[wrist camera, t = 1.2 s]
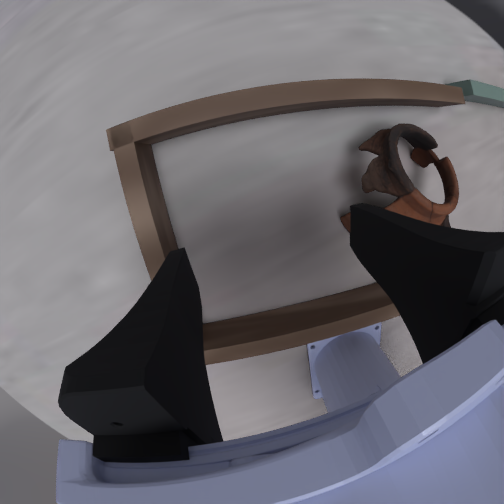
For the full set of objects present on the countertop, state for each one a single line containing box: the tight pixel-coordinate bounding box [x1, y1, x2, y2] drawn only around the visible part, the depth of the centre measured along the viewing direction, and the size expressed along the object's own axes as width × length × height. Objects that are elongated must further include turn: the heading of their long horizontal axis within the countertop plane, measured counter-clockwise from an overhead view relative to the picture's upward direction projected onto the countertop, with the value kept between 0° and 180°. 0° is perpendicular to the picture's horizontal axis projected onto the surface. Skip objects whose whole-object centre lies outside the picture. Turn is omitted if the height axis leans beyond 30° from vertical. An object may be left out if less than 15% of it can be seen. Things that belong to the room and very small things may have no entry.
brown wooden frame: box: [106, 79, 465, 365], centre depth 20 cm, size 19×28×4 cm
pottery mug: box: [341, 124, 459, 232], centre depth 19 cm, size 12×10×8 cm
